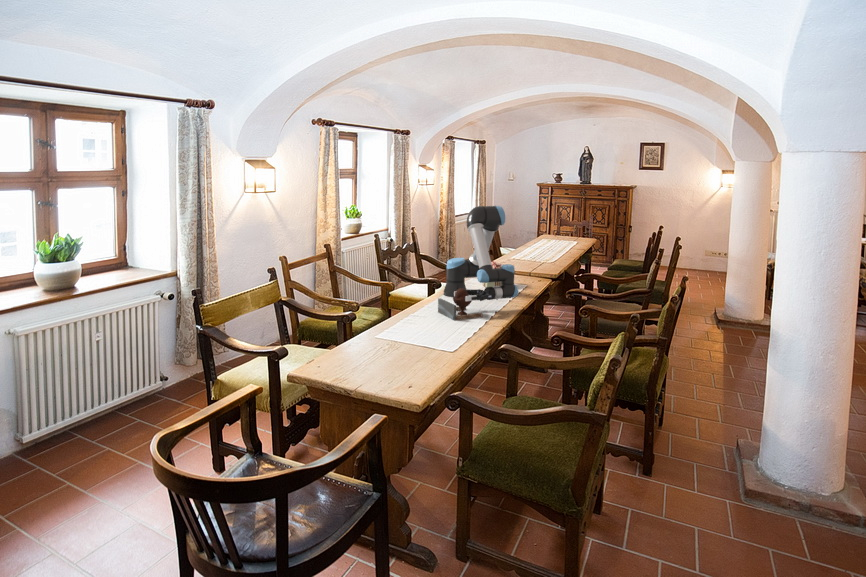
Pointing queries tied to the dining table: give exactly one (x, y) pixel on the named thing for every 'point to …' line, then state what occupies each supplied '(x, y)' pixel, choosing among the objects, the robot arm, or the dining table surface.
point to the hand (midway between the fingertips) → (459, 296)
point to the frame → (453, 311)
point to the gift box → (491, 284)
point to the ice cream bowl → (461, 300)
